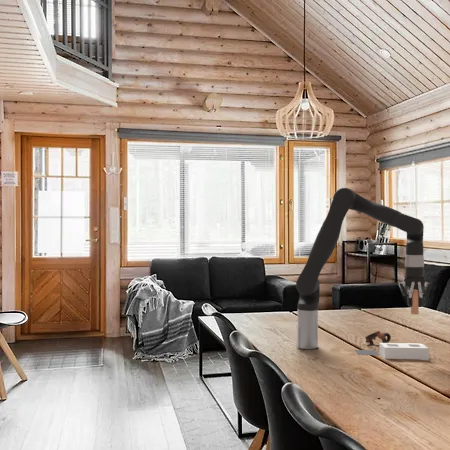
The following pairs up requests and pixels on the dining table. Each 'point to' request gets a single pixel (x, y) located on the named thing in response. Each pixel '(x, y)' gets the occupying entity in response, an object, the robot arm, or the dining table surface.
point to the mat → (366, 352)
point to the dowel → (415, 302)
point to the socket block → (404, 351)
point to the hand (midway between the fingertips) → (414, 306)
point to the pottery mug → (380, 336)
